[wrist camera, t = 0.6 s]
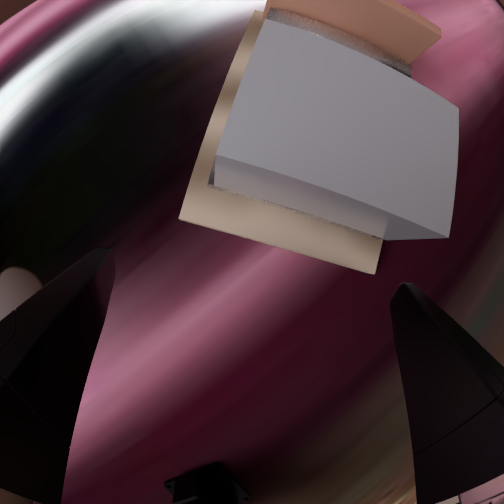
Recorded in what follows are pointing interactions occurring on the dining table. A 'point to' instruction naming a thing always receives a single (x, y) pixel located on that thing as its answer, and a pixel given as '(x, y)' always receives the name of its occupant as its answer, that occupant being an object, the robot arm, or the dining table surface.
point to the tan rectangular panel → (370, 23)
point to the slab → (340, 138)
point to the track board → (258, 214)
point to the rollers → (346, 41)
